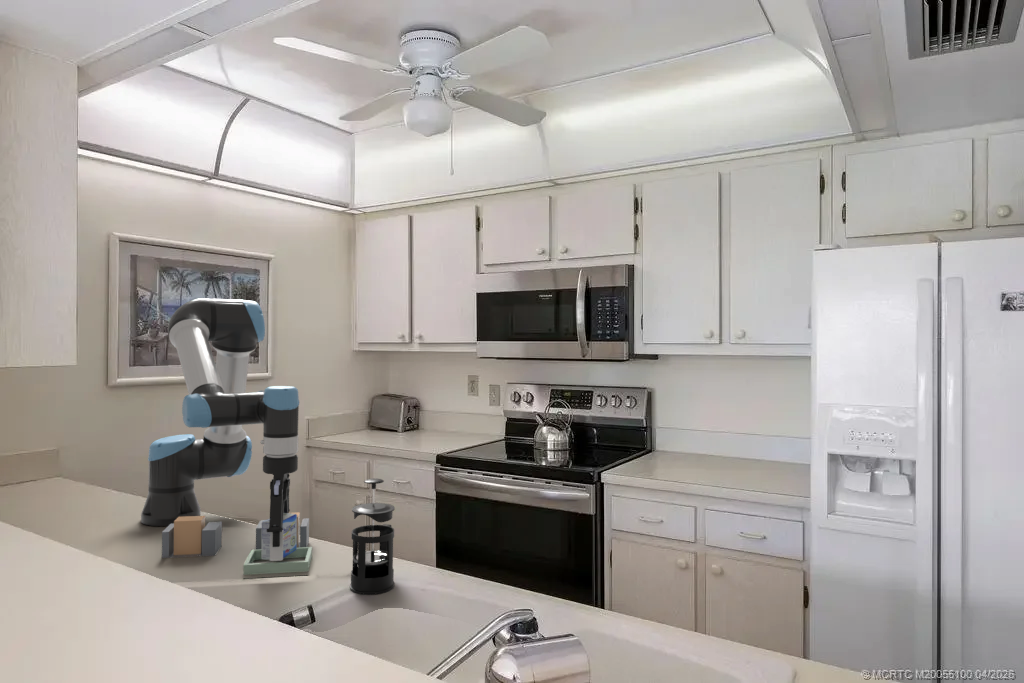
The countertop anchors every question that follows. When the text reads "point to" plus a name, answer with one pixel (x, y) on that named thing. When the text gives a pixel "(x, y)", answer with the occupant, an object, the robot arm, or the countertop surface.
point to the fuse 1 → (188, 535)
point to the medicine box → (288, 536)
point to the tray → (278, 563)
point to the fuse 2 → (298, 526)
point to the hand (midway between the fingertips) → (279, 553)
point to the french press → (375, 565)
